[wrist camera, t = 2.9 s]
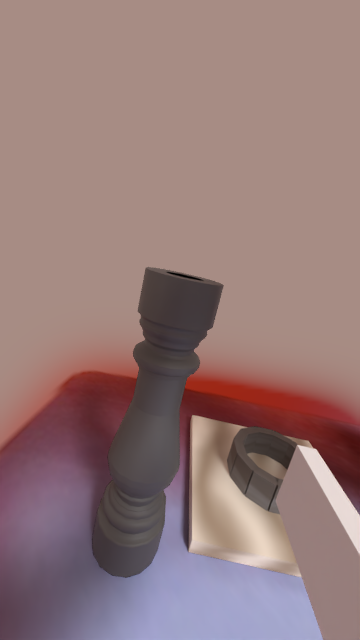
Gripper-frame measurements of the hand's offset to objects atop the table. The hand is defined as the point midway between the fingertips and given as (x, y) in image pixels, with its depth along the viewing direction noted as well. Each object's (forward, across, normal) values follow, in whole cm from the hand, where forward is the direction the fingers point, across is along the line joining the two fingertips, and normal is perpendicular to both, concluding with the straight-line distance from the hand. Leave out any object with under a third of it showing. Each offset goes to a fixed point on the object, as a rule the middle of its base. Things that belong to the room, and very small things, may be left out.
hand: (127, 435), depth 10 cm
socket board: (+20, +17, -19) cm, 32 cm away
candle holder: (+10, +1, -19) cm, 22 cm away
